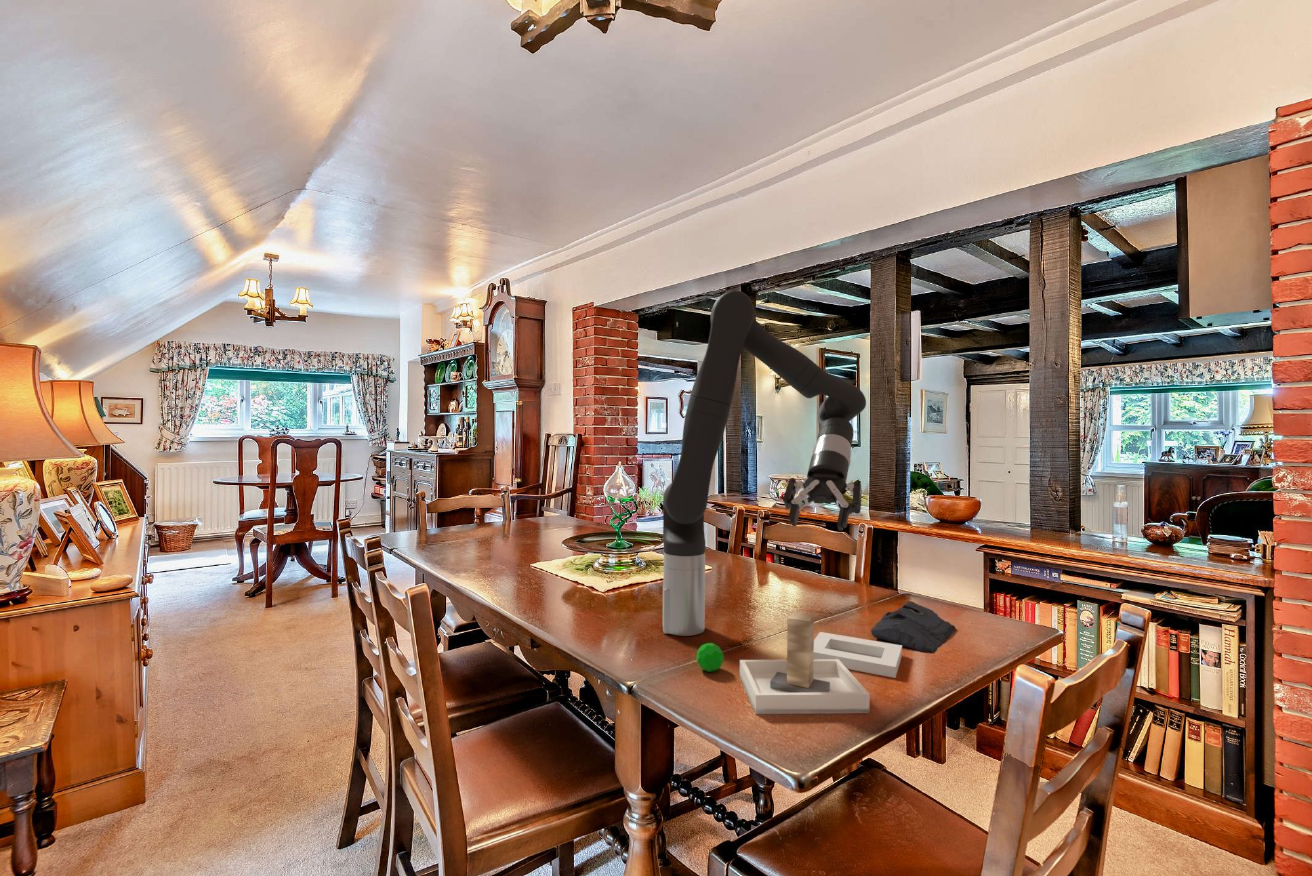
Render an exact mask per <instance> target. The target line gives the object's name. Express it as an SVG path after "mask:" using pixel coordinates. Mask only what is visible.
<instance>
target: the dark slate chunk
mask: <svg viewBox="0 0 1312 876" xmlns="http://www.w3.org/2000/svg"><path fill="white" fill-rule="evenodd" d="M956 630H957V628H956V626H955V625H954V624H952V623H950V622H949V621H945V620H944V619H943V618H941V617H940V616H939V614H937V613H936V612H935V611H933V610H932V609H930V608H928V607H926V606H923V605H920V604H918V603H916V602H914V601H911V600H909V601H907V602H906V603H904V604H902V607H899V608H898V609H897V610H895V611H888V612H886V613H884V614H883V616H882V617H881V618H880V620H879V621H877V622H876V623H875V625H874V626H873V627H871V629H870V634H871V635H872V637H874V639H875V638H876V639H879V640H881V641H886V642H888V643H893V644H896V645H902V647H905V648H909V649H912V650H915V651H918V652H924V653H931V654H933V653H935V652H937V651H938V649H939V648H941V647H942V645H943V644H945V643H946V642H947V640H948V639H949V638H951V636H952V635H953V634H954V632H955V631H956Z"/></svg>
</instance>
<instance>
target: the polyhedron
mask: <svg viewBox="0 0 1312 876" xmlns="http://www.w3.org/2000/svg"><path fill="white" fill-rule="evenodd" d="M724 655H725V654H724V653H723V651H722V650H721V648H720V646H718V645H717V644H715V643H712V642H709V643H708V642H707V643H704V644H702V645H700V647H699V648H698V650H697V652H696V658H695V659H696V662H697V663H698V665H699V667H700V669H702V670H704V671H705V672H707V673H712V672H716V671H717V670H720V668H721V667H722V666H723V663H724V660H725V659H724V657H725V656H724Z"/></svg>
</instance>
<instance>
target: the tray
mask: <svg viewBox="0 0 1312 876" xmlns="http://www.w3.org/2000/svg"><path fill="white" fill-rule="evenodd" d="M777 672H781V673H786V674H787V659H739V678H740V681H741V683H742V685H743V688H744V691H745V693H746V695H747V697H748V700H749V703H750V704H751V707H752V710H753V711H754V714H755V715H804V714H805V715H806V714H807V715H816V714H817V715H818V714H823V715H824V714H829V715H831V714H870V700H871V699H870V698H871V697H870V696H871V695H870V693H869V692H868V690H866V688H865V687H864V686H863V685H862V684H861V683H860V682H859V681H858V680H857V678H856V677H855V676H854V675H853V674H852V673H851V672H850V669H847V668H846V667H845V666H844V665H843V664H842V662H841V661H840V660H839V659H814V662H813V679H817V680H822V681H827V682H830V690H829V692H801V693H790V692H785V691H781V690H776V689H771V688H770V681H771V680H772V678H773V677H774V676H775V674H776V673H777Z"/></svg>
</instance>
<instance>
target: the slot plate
mask: <svg viewBox="0 0 1312 876" xmlns="http://www.w3.org/2000/svg"><path fill="white" fill-rule="evenodd" d="M902 657H903V646H902V645H899V644H897V643H891V642H884V641H877V640H873V639H872V640H870V639H865V638H859V637H853V636H848V635H841V634H835V633H829V632H823V631H820V632H819V633H818V634H817V635H816V637H814V659H839V660H840V661H841V662H842V664H843V665H844V666H845V667H846V668H847V669H848V670H849V671H850V670H852V671H856V672H863V673H867V674H871V675H878V676H883V677H888V678H893V679H896V678H897V675H898V671H899V667H900V664H901V660H902Z"/></svg>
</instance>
